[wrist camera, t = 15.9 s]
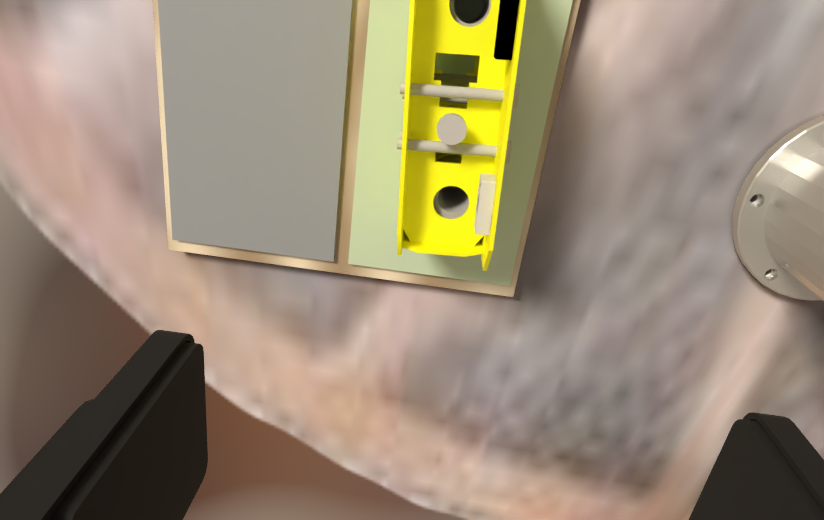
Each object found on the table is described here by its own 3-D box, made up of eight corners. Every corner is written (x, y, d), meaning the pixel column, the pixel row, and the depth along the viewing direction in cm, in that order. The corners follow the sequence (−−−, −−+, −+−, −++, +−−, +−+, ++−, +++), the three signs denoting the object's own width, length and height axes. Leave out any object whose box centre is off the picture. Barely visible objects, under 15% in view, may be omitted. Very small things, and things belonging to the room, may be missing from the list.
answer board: (590, -65, 31) (597, -68, 30) (511, 288, 40) (513, 299, 39) (154, -125, 31) (140, -131, 30) (176, 242, 40) (166, 251, 39)
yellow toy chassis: (488, 225, 37) (497, 284, 29) (400, 218, 37) (387, 275, 29) (524, -58, 30) (549, -77, 22) (416, -65, 30) (404, -86, 23)
